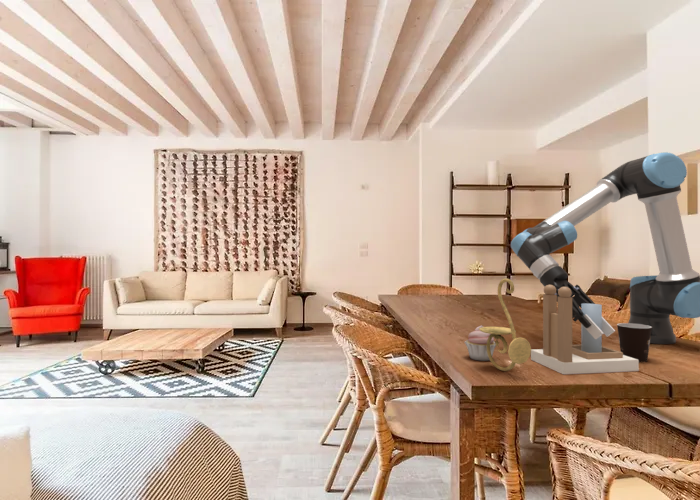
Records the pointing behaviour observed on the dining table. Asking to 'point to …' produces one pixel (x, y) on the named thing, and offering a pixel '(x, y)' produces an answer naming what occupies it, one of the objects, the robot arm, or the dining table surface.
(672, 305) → the robot arm
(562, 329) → the peg insertion fixture
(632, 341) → the coffee mug
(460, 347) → the dining table surface
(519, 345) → the wall sconce
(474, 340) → the cupcake
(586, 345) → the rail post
